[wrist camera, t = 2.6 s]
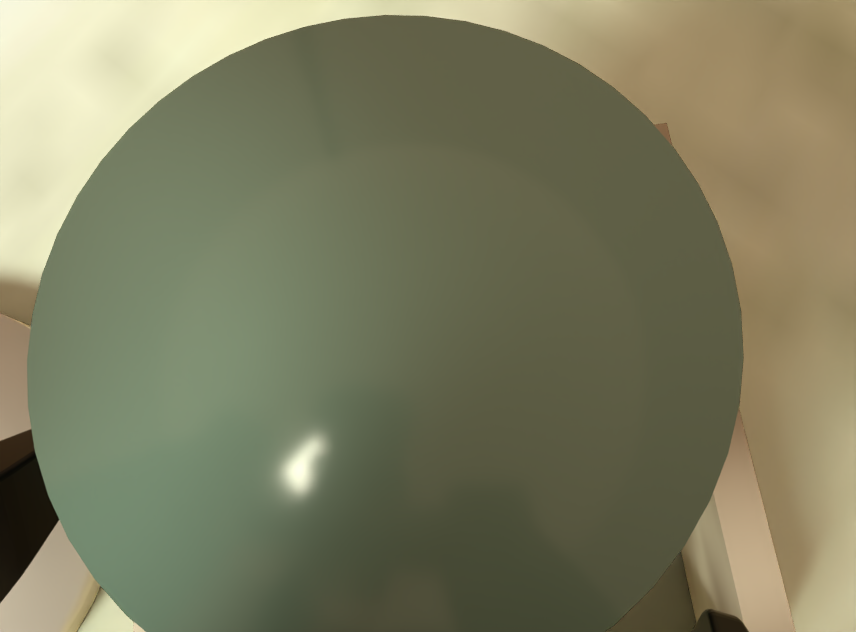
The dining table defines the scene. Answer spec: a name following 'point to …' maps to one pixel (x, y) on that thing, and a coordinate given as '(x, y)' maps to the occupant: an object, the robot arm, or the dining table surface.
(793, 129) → the dining table surface
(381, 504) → the flower pot
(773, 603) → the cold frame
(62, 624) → the saucer
